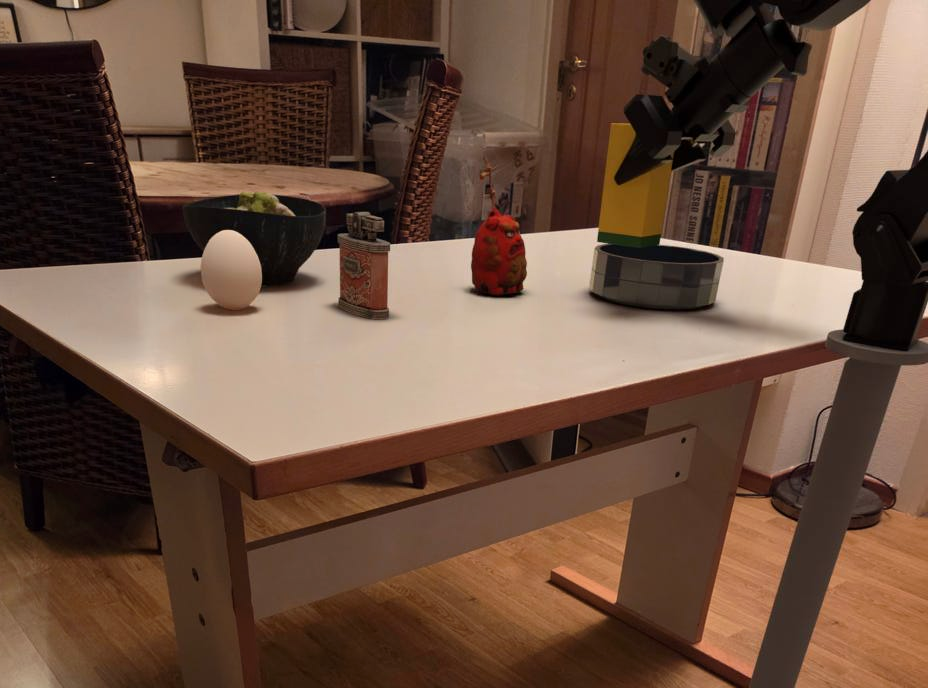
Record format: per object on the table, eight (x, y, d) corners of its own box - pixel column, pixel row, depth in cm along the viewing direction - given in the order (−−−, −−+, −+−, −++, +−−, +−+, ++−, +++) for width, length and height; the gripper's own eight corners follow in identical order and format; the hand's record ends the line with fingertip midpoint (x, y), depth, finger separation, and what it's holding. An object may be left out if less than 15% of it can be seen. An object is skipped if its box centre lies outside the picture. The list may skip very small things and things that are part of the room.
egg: (192, 307, 94) (184, 227, 90) (240, 300, 98) (234, 224, 94) (227, 318, 90) (221, 236, 86) (275, 311, 95) (271, 232, 90)
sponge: (659, 244, 106) (678, 126, 99) (640, 248, 102) (658, 125, 96) (616, 238, 109) (631, 123, 102) (596, 242, 106) (610, 123, 99)
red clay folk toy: (507, 300, 107) (519, 162, 98) (457, 292, 109) (465, 157, 101) (532, 291, 112) (545, 160, 104) (484, 284, 115) (493, 155, 107)
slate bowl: (731, 299, 115) (741, 255, 112) (687, 318, 103) (696, 268, 100) (620, 281, 122) (626, 239, 119) (567, 296, 111) (573, 250, 108)
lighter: (331, 305, 99) (330, 208, 93) (356, 303, 100) (356, 207, 95) (370, 320, 93) (370, 218, 88) (396, 317, 95) (398, 217, 90)
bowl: (164, 285, 103) (153, 192, 98) (226, 264, 117) (219, 181, 112) (299, 299, 100) (295, 204, 95) (345, 275, 114) (344, 191, 109)
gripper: (732, 16, 97) (630, 124, 109) (656, -3, 85) (550, 121, 96) (782, 102, 98) (675, 200, 109) (713, 95, 85) (600, 207, 97)
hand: (627, 181), depth 103 cm, fingers closed on sponge, 5 cm apart
